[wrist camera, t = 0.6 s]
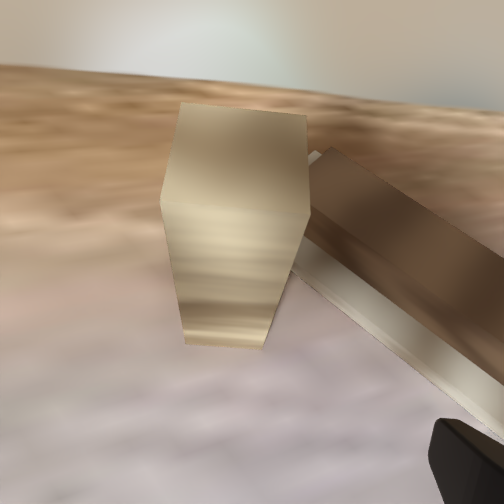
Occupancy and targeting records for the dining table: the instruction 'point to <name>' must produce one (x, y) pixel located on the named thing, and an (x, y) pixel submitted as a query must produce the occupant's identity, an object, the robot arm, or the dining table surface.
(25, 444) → the dining table surface
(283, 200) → the ash post
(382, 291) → the ridge stand
